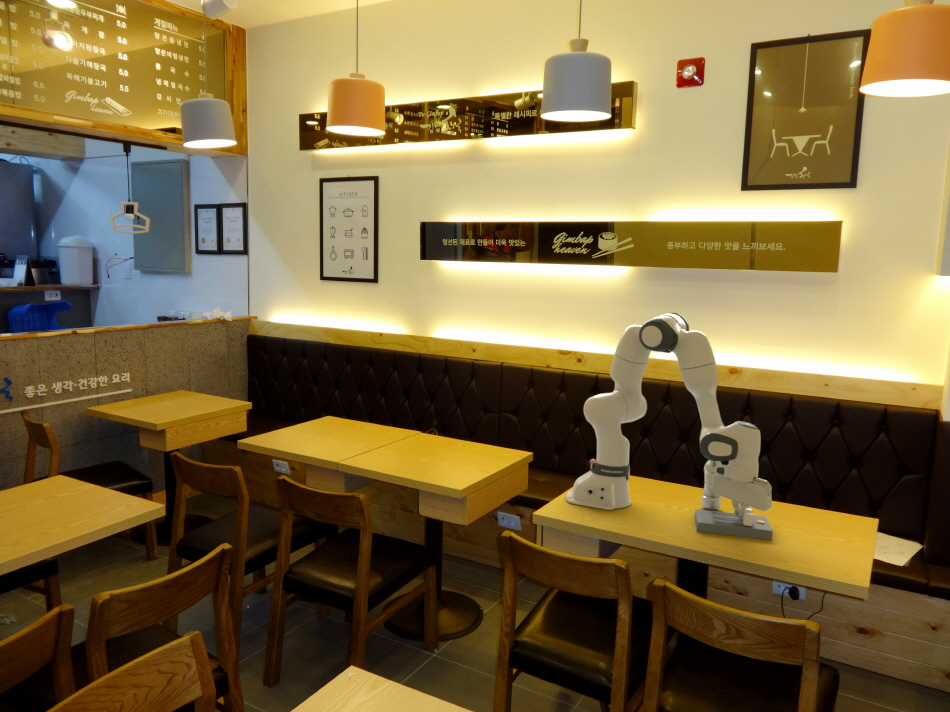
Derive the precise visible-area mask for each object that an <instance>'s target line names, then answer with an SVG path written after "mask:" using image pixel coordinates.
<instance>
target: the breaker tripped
mask: <svg viewBox="0 0 950 712" xmlns="http://www.w3.org/2000/svg"><path fill="white" fill-rule="evenodd" d="M744 512H746V513H752V514H753V508H751V507H749V508H746V509H745V510H744ZM743 519H744V515H743Z"/></svg>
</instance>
